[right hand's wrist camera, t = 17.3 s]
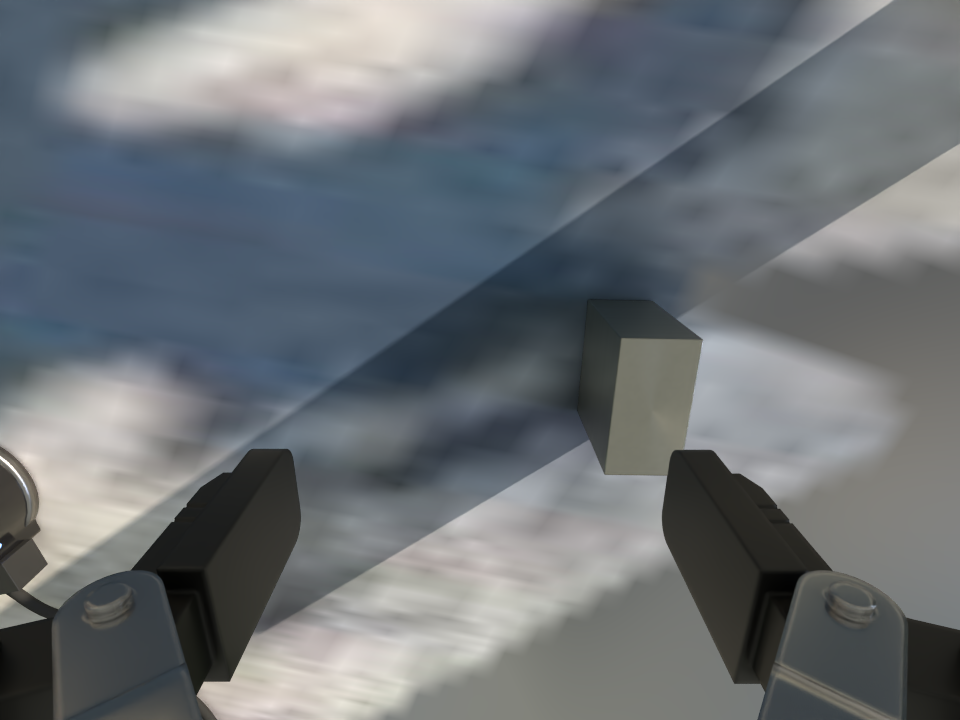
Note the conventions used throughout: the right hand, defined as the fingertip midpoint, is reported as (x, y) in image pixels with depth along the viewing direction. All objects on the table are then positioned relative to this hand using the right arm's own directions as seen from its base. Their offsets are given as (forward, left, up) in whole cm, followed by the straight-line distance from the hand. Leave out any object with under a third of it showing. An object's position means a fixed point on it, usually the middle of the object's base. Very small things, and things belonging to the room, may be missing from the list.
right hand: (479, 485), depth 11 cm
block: (-8, -8, -25) cm, 27 cm away
